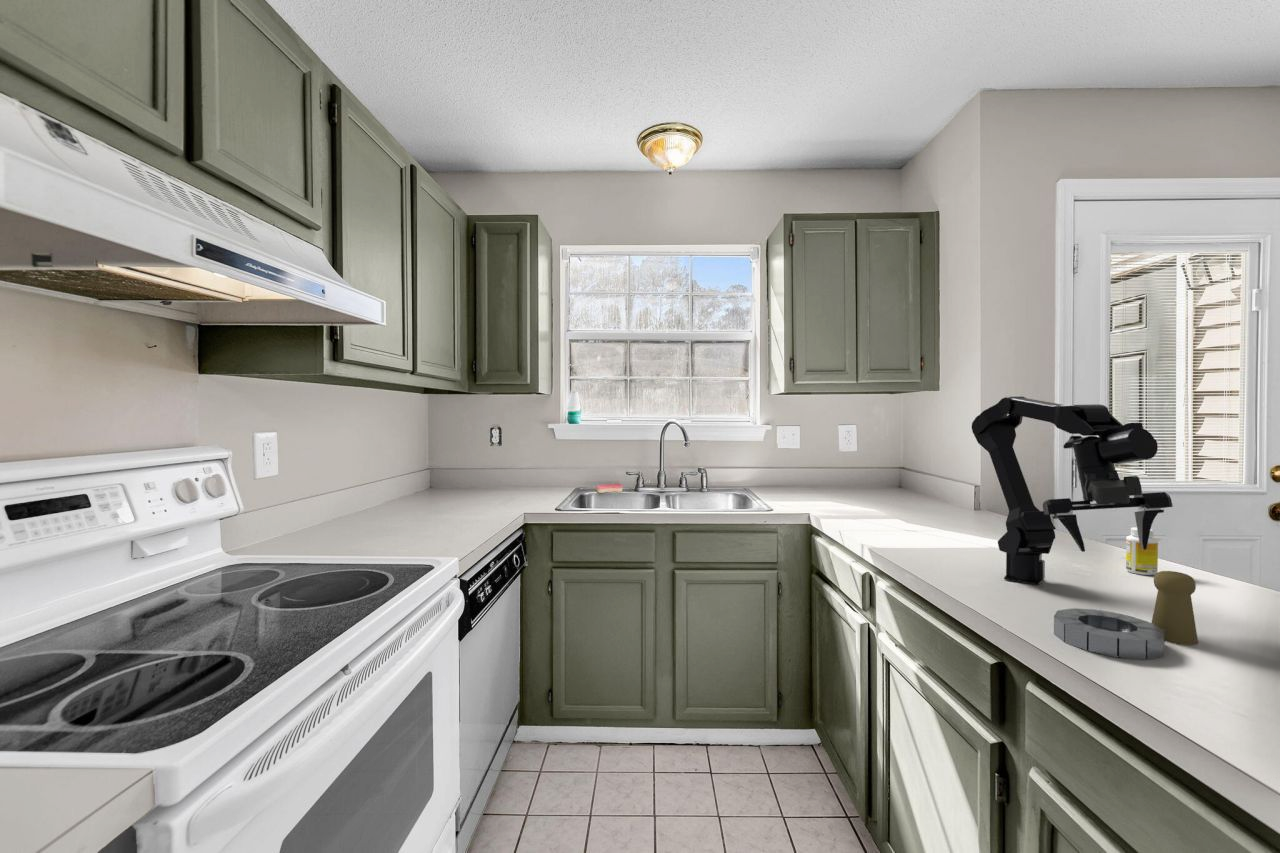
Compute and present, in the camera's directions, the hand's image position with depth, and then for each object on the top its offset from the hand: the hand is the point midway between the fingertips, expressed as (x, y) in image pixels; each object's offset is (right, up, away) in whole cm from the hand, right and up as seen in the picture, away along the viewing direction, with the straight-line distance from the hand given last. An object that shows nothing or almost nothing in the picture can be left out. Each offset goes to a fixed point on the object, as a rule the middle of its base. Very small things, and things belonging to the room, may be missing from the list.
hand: (1113, 550), depth 109 cm
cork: (+1, -12, -12) cm, 17 cm away
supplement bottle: (+28, -11, +26) cm, 39 cm away
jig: (-11, -12, -13) cm, 21 cm away
